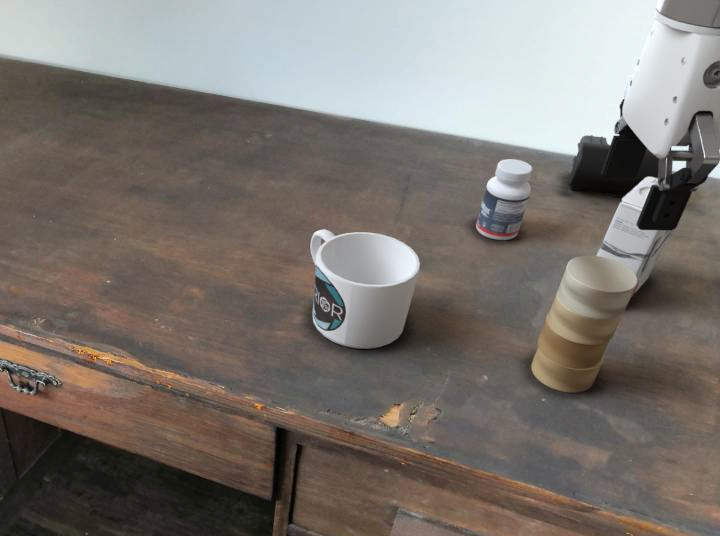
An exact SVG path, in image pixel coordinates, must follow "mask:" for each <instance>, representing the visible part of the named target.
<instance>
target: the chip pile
mask: <svg viewBox="0 0 720 536" xmlns="http://www.w3.org/2000/svg"><path fill="white" fill-rule="evenodd" d="M548 315H549V312H548V313H547V315H546V317H545V319H544V323H543V324H542V327H541V330H540V333H539V336H538V338H537V348H536V351H535V353H534V356H533V359H532V362H531V366H530V367H531V372H532V374H533V376H534V377H535V378H536V379H537V380H538V381H539V382H540V383H541V384H543V385H544V386H546V387H548V388H549V389H552V390H555V391H559V392H563V393H569V394H571V393H573V394H574V393H575V394H576V393H582V392H585V391H587V390H589V389H591V387H593V385H594V383H595V381H596V378H597V377H598V374H599V372H600V370H601V367H602V365H603V362H604V359H605V356H604V354H605V352H606V349H607V348H608V345H609V343H610V340H609V341H608V342H606V343H603V344H598V345H585V344H579V343H575V342H572V341H569V340H567V339H565V338H563V337H561V336H559V335H558V334H557V333H555V332H554V331H553V330H552V329H551V327H550V326H549V324H548V319H547V318H548Z"/></svg>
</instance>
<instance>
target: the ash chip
mask: <svg viewBox="0 0 720 536" xmlns="http://www.w3.org/2000/svg"><path fill="white" fill-rule="evenodd" d="M636 285H637V277H636V275H635V273H634V272H633V271H632V270H631V269H630V268H628V267H627V266H625V265H624V264H622V263H620V262H618V261H615V260H612V259H609V258H605V257H600V256H597V255H581V256H576V257H574V258H572V259H570V260H569V261H568V262H567V265H566V266H565V270H564V272H563V275H562V277H561V281H560V283H559V286H558V288H557V290H556V293H557V296H558V299H559V301H560V302H561V303H562V304H563V305H564V306H565V307H566V308H568V309H569V310H571V311H573V312H575V313H577V314H579V315H582V316H585V317H589V318H595V319H611V318H615V317H618V316H620V315H621V314H622V313H623V314H624V313H625V311H626V309H627V306H628V304H629V302H630V300H631V298H632V297H633V296H632V293H633V291H634V289H635V287H636ZM631 296H632V297H631Z"/></svg>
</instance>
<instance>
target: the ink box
mask: <svg viewBox="0 0 720 536" xmlns="http://www.w3.org/2000/svg"><path fill="white" fill-rule="evenodd" d="M652 185H658V178H655V177H646V178H644V180H642V181H641V182H640V183H639V184H638V185H637V186H635V187H634V188H633V189H632V190H631V191H630V192H629V193H627V194H626V195H625V196H624V197H622V198H621V201H620V202H619V203H618V206H617V208H616V211H615V213H614V216H613V217H612V219H611V221H610V224H609V226H608V229H607V231H606V233H605V236H604V237H603V240H602V241H601V245H600V247H599V249H598V251H597V254H596V256H600V257H605V258H609V259H612V260H615V261H618V262H620V263H622V264H624V265H625V266H627V267H628V268H630V269H631V270H632V271H633V272H634V273H635V275H636V277H637V285H636V287H635V289H634V291H633V293H632V296H631V298H632V297H633V296H634V295H635V294H636V293H637V292H638V290H639V289H641V287H642V285H644V284H645V283H646V281H647V280H648V279H649V277H650V276H651V273H652V271H653V269H654V267H655V265H656V263H657V261H658V259H659V257H660V255H661V252H662V251H663V248H664V247H665V244H666V243H667V241H668V239H669V236H670V235H671V233H672V231H673V230H670V231H669V230H640V229H639V228H638V227H637V221H638V219H639V216H640V213H641V211H642V208H643V206H644V203H645V201H646V198H647V196H648V193H649V191H650V188H651V186H652Z"/></svg>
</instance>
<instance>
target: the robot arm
mask: <svg viewBox="0 0 720 536" xmlns="http://www.w3.org/2000/svg"><path fill="white" fill-rule="evenodd" d="M654 10H655V11H654V12H653V18H654V19H655V21H654V23H653V25H652V27H651V30H650V32H649V33H648V36H647V38H646V41H645V43H644V45H643V48H642V50H641V53H640V55H639V57H638V60H637V63H636V65H635V68H634V70H633V73H630V74H628V75H627V77H626V81H625V88H624V94H623V98H622V100H621V102H620V103H619V112H620V113H619V117H620V118H619V119H618V120H617V121H616V122H615V124H614V128H613V131H614V134H615V135H613V136H612V139H611V142H610V144H609V145H610V148H609V151H608V154H607V156H606V159H605V162H604V165H603V168H602V171H601V174H602V175H603V177H605V178H634V177H636V175H637V174H638V171H639V168H640V166H641V163H642V160H643V158H644V155H645V153H646V150H647V148H648V150H649V151H650V152H651V153H652V154H653V155H655V156H656V157H657V158H659V169H658V185H652V186H651V188H650V191H649V193H648V196H647V198H646V201H645V203H644V206H643V208H642V211H641V213H640V216H639V219H638V221H637V227H638V228H639V229H640V230H669V231H670V230H672V231H674V230H675V229H676V228H677V227H678V225H679V222H680V220H681V218H682V216H683V213H684V212H685V209H686V207H687V205H688V202H689V200H690V198H691V196H692V193H694V192H697V190H698V189H699V187H700V186H701V185H702V184H704V183H705V182H706V181H707V180H708V178H709V175H710V174H711V173H712V172H713V170H715V169H716V167H717V166H718V165H719V164H720V0H657V4H656V7H655V9H654ZM672 147H688V150H687V149H685V150H683V149H681V150H680V149H679V150H678V149H677V150H676V149H675V150H674V149H672ZM674 162H685V167H682V168H680V169H678V170H677V171H675V172H673V163H674Z"/></svg>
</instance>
